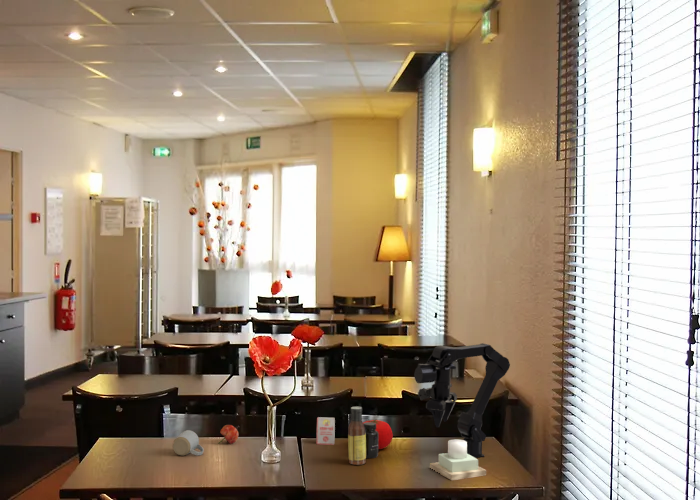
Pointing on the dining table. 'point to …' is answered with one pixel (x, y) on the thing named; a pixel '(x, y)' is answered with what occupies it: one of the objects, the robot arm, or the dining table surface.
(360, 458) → the sauce bottle
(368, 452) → the supplement bottle
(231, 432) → the red mushroom
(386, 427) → the tomato
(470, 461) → the sage top block
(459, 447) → the white cylinder
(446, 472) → the birch base slab
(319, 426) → the white red carton
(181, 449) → the ceramic mug
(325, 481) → the dining table surface
